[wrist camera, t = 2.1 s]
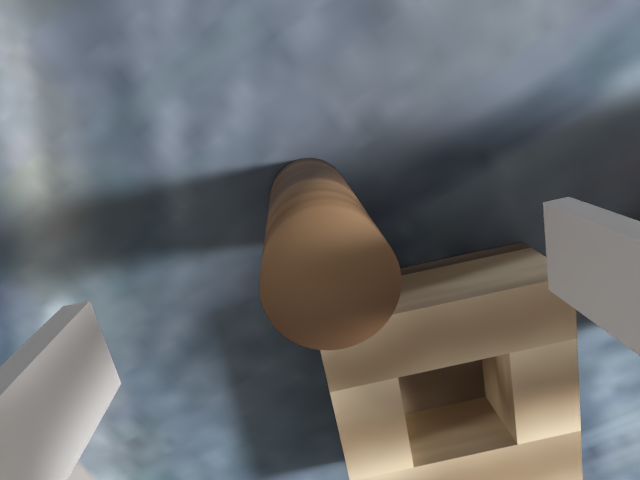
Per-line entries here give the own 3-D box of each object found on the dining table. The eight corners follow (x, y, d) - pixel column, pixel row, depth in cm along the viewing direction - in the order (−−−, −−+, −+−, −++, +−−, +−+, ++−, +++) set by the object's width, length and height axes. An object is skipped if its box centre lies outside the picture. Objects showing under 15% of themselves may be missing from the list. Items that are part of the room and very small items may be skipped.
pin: (262, 167, 24) (243, 235, 13) (339, 150, 24) (389, 204, 13) (280, 240, 25) (277, 363, 14) (353, 224, 25) (410, 334, 14)
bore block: (310, 287, 26) (315, 331, 22) (522, 241, 26) (574, 275, 22) (348, 460, 30) (361, 530, 25) (535, 419, 30) (582, 481, 25)
